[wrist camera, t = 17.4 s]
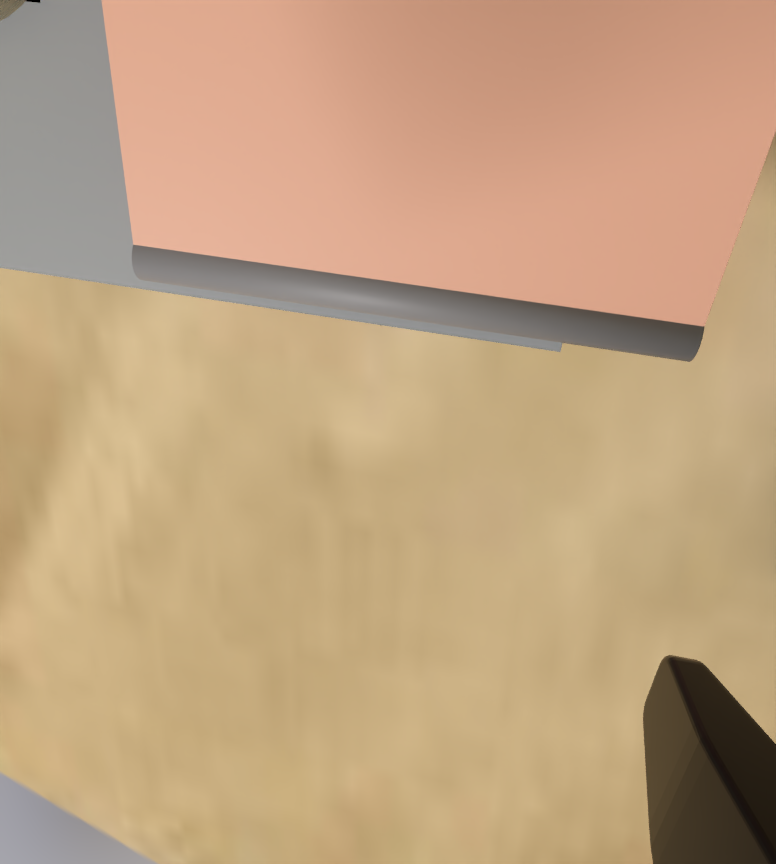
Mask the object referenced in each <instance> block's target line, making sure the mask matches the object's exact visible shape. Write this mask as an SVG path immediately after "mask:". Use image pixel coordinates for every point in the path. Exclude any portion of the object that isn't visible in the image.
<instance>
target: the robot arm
mask: <svg viewBox="0 0 776 864" xmlns="http://www.w3.org/2000/svg"><path fill="white" fill-rule="evenodd" d="M643 727H644V745H645V762H646V780H647V797H648V815H649V830H650V843H651V852H652V859H653V864H776V744H775V743H774V742H773V741H772V739H771V738H770V737H769V736H768V735H767V734H766V733H765V732H764V731H763V729H762V728H761V727H760V726H759V725H758V724H757V723H756V722H755V720H754V719H753V718H752V717H751V716H750V715H749V714H748V713H747V712H746V710H745V709H744V708H743V707H742V706H741V705H740V704H739V703H738V701H737V700H736V699H735V698H734V697H733V696H732V695H731V694H730V693H729V691H728V690H727V689H726V688H725V687H724V686H723V685H722V684H721V682H720V681H719V680H718V679H717V678H716V677H715V676H714V675H713V674H712V672H711V671H710V670H709V669H708V668H707V667H706V666H705V665H704V664H703V663H701V662H700V661H697V660H694V659H688V658H683V657H678V656H673V655H669V656H666V657H664V659H663V660H662V661H661V663H660V665H659V668H658V670H657V673H656V675H655V678H654V681H653V683H652V686H651V688H650V691H649V694H648V696H647V699H646V702H645V706H644V713H643Z"/></svg>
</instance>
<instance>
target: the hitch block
mask: <svg viewBox="0 0 776 864" xmlns="http://www.w3.org/2000/svg"><path fill="white" fill-rule="evenodd" d="M132 248H133V239H132V231H131V223H130V216H129V208H128V200H127V193H126V185H125V177H124V170H123V162H122V154H121V147H120V139H119V131H118V124H117V116H116V108H115V100H114V93H113V85H112V77H111V70H110V62H109V54H108V47H107V39H106V31H105V24H104V16H103V8H102V1H101V0H40V3H37V2H27V1H25V2H24V3H23V5H22V6H21V7H19V8H18V9H17V10H16V11H15V12H13V13H12V14H11V15H10V16H9V17H7V18H5V19H3V20H1V21H0V268H6V269H12V270H19V271H26V272H32V273H39V274H46V275H52V276H59V277H66V278H72V279H79V280H85V281H92V282H99V283H105V284H112V285H119V286H125V287H132V288H139V289H145V290H152V291H159V292H165V293H172V294H179V295H185V296H192V297H198V298H205V299H212V300H218V301H225V302H232V303H238V304H245V305H252V306H258V307H265V308H272V309H278V310H285V311H292V312H298V313H305V314H311V315H318V316H325V317H331V318H338V319H345V320H351V321H358V322H365V323H371V324H378V325H385V326H391V327H398V328H404V329H411V330H418V331H424V332H431V333H438V334H444V335H451V336H458V337H464V338H471V339H478V340H484V341H491V342H498V343H504V344H511V345H517V346H524V347H531V348H537V349H544V350H551V351H557V352H560V351H561V347H562V343H561V342H554V341H547V340H541V339H534V338H527V337H520V336H514V335H507V334H500V333H494V332H487V331H480V330H473V329H467V328H460V327H453V326H447V325H440V324H433V323H427V322H420V321H413V320H406V319H400V318H393V317H386V316H380V315H373V314H366V313H359V312H353V311H346V310H339V309H333V308H326V307H319V306H312V305H306V304H299V303H292V302H286V301H279V300H272V299H266V298H259V297H252V296H245V295H239V294H232V293H225V292H219V291H212V290H205V289H198V288H192V287H185V286H178V285H172V284H165V283H158V282H151V281H145V280H140V279H139V278H137V276H136V275H135V273H134V270H133V266H132Z"/></svg>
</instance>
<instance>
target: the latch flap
mask: <svg viewBox="0 0 776 864" xmlns="http://www.w3.org/2000/svg"><path fill="white" fill-rule="evenodd" d="M101 1H102V8H103V16H104V24H105V31H106V39H107V47H108V54H109V62H110V70H111V77H112V85H113V93H114V100H115V108H116V116H117V124H118V131H119V139H120V147H121V154H122V162H123V170H124V177H125V185H126V193H127V200H128V208H129V216H130V223H131V231H132V239H133V248H132V266H133V270H134V273H135V275H136V276H137V278H139V279H140V280H145V281H151V282H158V283H165V284H172V285H178V286H185V287H192V288H198V289H205V290H212V291H219V292H225V293H232V294H239V295H245V296H252V297H259V298H266V299H272V300H279V301H286V302H292V303H299V304H306V305H312V306H319V307H326V308H333V309H339V310H346V311H353V312H359V313H366V314H373V315H380V316H386V317H393V318H400V319H406V320H413V321H420V322H427V323H433V324H440V325H447V326H453V327H460V328H467V329H473V330H480V331H487V332H494V333H500V334H507V335H514V336H520V337H527V338H534V339H541V340H547V341H554V342H561V343H567V344H574V345H581V346H588V347H594V348H601V349H608V350H614V351H621V352H628V353H635V354H641V355H648V356H655V357H661V358H668V359H675V360H681V361H688V362H690V361H691V360H693V358H694V357H695V355H696V354H697V352H698V349H699V347H700V344H701V341H702V337H703V332H704V326H705V323H706V320H707V318H708V315H709V312H710V310H711V307H712V304H713V301H714V299H715V296H716V293H717V290H718V288H719V285H720V282H721V280H722V277H723V274H724V271H725V269H726V266H727V263H728V260H729V258H730V255H731V252H732V250H733V247H734V244H735V241H736V239H737V236H738V233H739V230H740V228H741V225H742V222H743V220H744V217H745V214H746V211H747V209H748V206H749V203H750V200H751V198H752V195H753V192H754V190H755V187H756V184H757V181H758V179H759V176H760V173H761V170H762V168H763V165H764V162H765V160H766V157H767V154H768V151H769V149H770V146H771V143H772V140H773V138H774V135H775V132H776V0H101Z"/></svg>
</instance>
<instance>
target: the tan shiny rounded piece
mask: <svg viewBox="0 0 776 864" xmlns="http://www.w3.org/2000/svg"><path fill="white" fill-rule="evenodd" d="M25 1H26V0H0V21H1V20H3V19H5V18H7V17H9V16H10V15H11V14H12V13H13V12H15V11H16V10H17V9H18V8H19V7H21V6H22V5H23V3H24V2H25Z"/></svg>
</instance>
